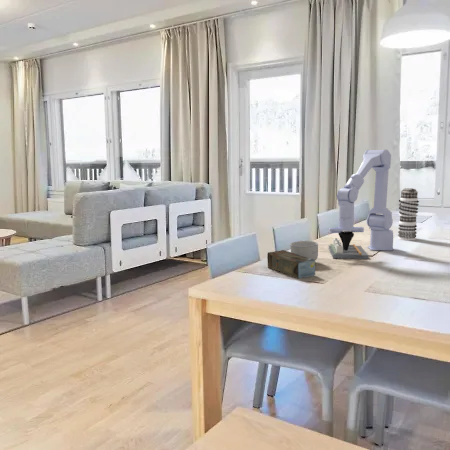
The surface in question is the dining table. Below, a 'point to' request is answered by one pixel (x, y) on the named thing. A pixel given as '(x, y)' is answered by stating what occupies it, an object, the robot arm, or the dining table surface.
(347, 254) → the panel
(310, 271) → the beverage carton
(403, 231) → the decorative candle
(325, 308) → the dining table surface
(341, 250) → the breaker
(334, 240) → the breaker
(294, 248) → the teacup
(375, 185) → the robot arm
